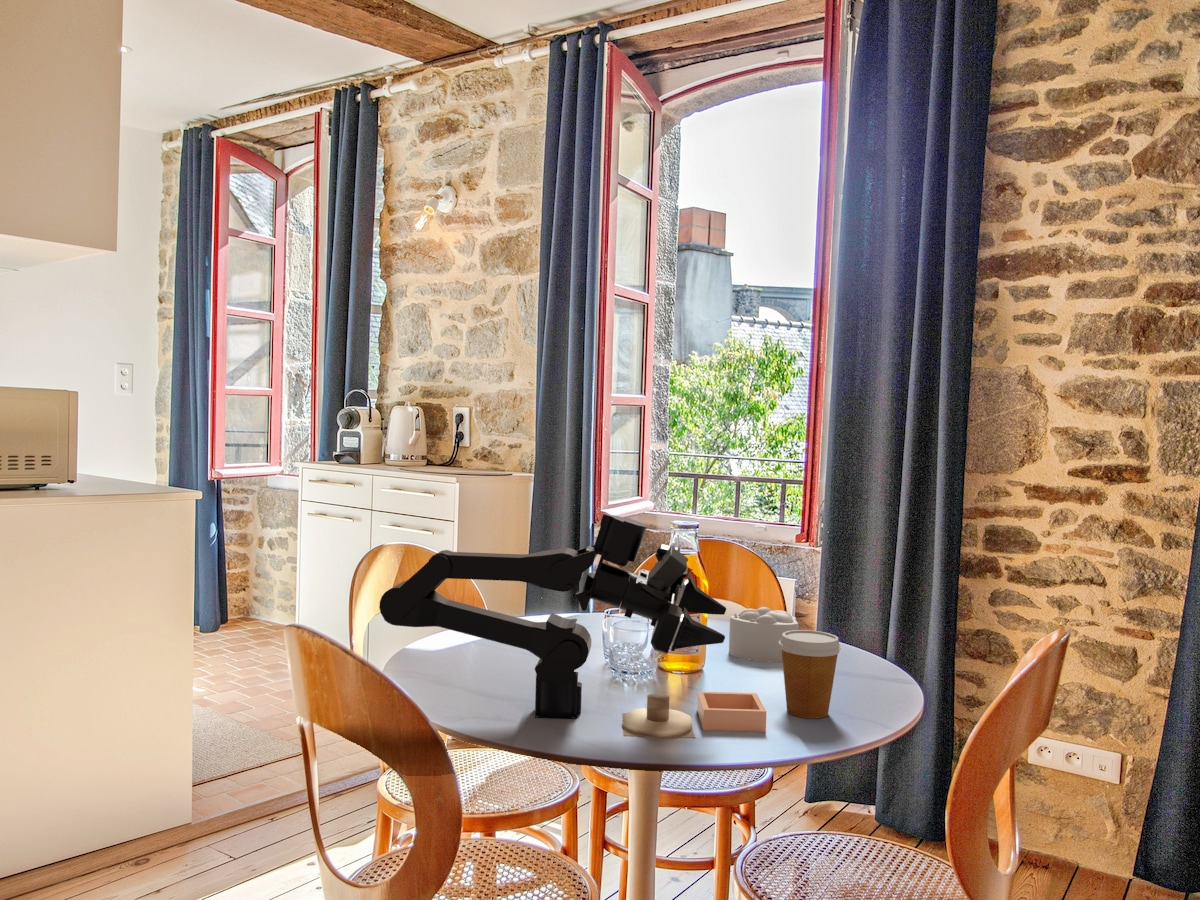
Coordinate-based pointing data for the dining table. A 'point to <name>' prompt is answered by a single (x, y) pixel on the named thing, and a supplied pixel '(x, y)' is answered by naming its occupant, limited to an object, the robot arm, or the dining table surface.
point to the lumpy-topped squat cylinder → (759, 633)
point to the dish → (731, 711)
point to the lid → (657, 718)
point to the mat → (630, 733)
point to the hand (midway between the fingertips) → (724, 624)
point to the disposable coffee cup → (809, 671)
